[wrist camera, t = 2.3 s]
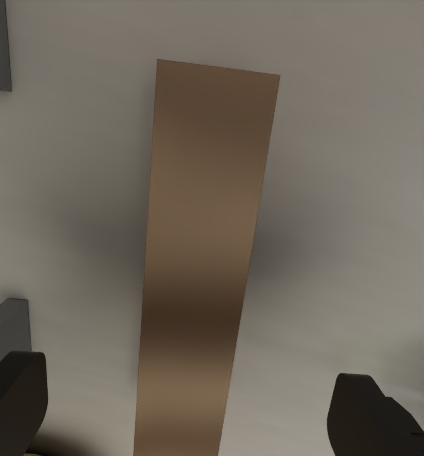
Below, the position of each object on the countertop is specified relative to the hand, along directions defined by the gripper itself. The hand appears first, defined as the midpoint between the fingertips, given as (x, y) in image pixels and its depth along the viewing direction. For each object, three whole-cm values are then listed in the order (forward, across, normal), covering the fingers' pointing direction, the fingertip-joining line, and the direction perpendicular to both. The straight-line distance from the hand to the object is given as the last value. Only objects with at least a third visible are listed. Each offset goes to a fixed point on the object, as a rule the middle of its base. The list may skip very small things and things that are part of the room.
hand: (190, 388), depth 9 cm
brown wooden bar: (+8, 0, -1) cm, 8 cm away
